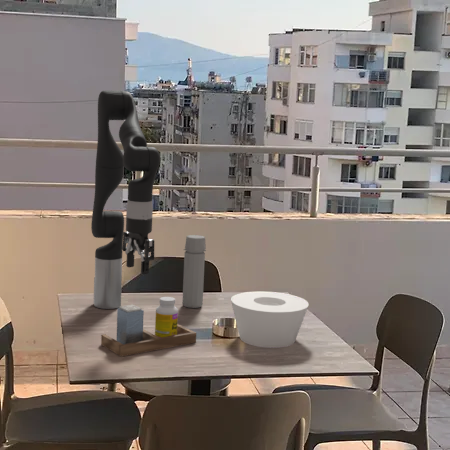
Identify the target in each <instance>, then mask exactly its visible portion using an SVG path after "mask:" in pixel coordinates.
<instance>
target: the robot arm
mask: <svg viewBox="0 0 450 450" xmlns="http://www.w3.org/2000/svg"><path fill="white" fill-rule="evenodd" d="M134 98H135V97H134V96H133V94H132V93H131V92H130V91H126V90H102V91H101V92H99V95H98V98H97V145H96V156H95V157H96V158H95V174H94V177H95V178H94V179H95V181H94V198H93V208H92V215H91V225H90V226H91V228H90V229H91V234H92V236H93V238H97V239H98V238H99V239H111V241H110V242H109V243H107V244H104V245H101V246H98V247H97V248H95V252H94V257H95V258H94V278H93V305H94V308H97V309H104V310H113V309H117V308H120V306H122V284H123V283H122V282H123V281H122V278H123V277H122V276H123V252H124V253H125V255H126V265H125V266H126V268H133V267H134V266H135V252H137V254H138V255H139V256H140V259H141V262H140V273H141V274H142V275H145V274H146V275H148V274H149V273H150V262H151V261H154V260H155V239H150V238H149V234H151V233H152V231H153V213H154V212H153V211H154V209H153V207H154V206H153V191H154V190H153V189H154V182H155V179H156V175H157V172H158V171H159V166H160V162H161V154H160V152H159V151H158V149H157V148H156V147H155V146H154V147H153V146H148V143H147V142H148V141H147V140H146V137H145V135H144V133H143V131H142V128H141V125H140V121H139V115H138V110H137V107H136V101H135V99H134ZM110 121H123V123H122V124H121V126H120V127H119V131H118V139H119V141H120V143H121V145H122V148H123V152H122V150H121V148H120V147H119V145H118V144H117V141H116V140H115V139H114V137H113V134H112V133H111V128H110ZM125 169H126V170H127V171H129V172H144V174H143V175H142V176H141V177H139V178H135V179H131V180H130V181H128V183H127V184H128V185H127V186H128V187H127V203H126V215H125V216H124V213H123V212H122V211H118V210H104V209H105V206H106V204H107V202H108V200H109V198H110V196H112V194H113V193H114V192H115V190H117V188H118V187H119V186H120V184H121V183H122V180H123V179H124V173H125ZM125 217H126V218H125Z"/></svg>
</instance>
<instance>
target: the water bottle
mask: <svg viewBox="0 0 450 450" xmlns="http://www.w3.org/2000/svg"><path fill="white" fill-rule="evenodd" d="M206 249H207V248H206V236H203V235H197V234H189V235H186V237H185V245H184V249H183V251H184V254H183V255H184V258H183V281H182V282H183V283H182V306H184V308H185V307H186V308H188V309H198V308H202V306H203V304H204V303H203V301H204V299H203V298H204V284H205V283H204V281H205V280H204V279H205V277H204V276H205V259H206V258H205V256H206V251H207V250H206Z"/></svg>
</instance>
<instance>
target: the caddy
mask: <svg viewBox="0 0 450 450" xmlns="http://www.w3.org/2000/svg"><path fill="white" fill-rule="evenodd" d="M100 339H101V340H100V344H101V346H103V347H105V348H106V349H108V350H110V352H113V353H115V354H116V355H117V356H119V357H126V356H131V355H132V356H133V355H136V354H141V353H142V354H143V353H147V352H153V351H157V350H163V349H168V348H173V347H179V346H185V345H190V344H195V343H197V332H196V331H194V330H192V329H189V328H188V327H185V326H184V325H181V324H179V323H177V335H173V336H167V337H162V338H159V337H157V336H155V334H153V333H151V332H149V331H148V330H146V329H144V328H143V341H139V342H134V343H128V344H121V343H120V342H118V341H117V339H115V338H114V337H113V338H112V337H111V336H109V335H108V334H106V333H105V334H101V335H100Z"/></svg>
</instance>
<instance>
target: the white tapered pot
mask: <svg viewBox="0 0 450 450" xmlns="http://www.w3.org/2000/svg"><path fill="white" fill-rule="evenodd" d="M230 298H231V299H230V302H231V307H232V311H233V315H234V320H235V322H236V323H235V324H236V328H237V331H238V336H239V339H240V340H241V341H242V342H244V343H245V344H247V345H250V346H254V347H258V348H265V349H266V348H269V349H272V348H273V349H275V348H277V349H278V348H286V347H290V346H292V345H294V344H295V342H296V340H297V337H298V335H299V332H300V329H301V327H302V324H303V321H304V318H305V316H306V313H307V310H308V309H309V308H308V307H309V304H310V303H309V302H308V300H307V299H305V298H303V297H300V296H296V295H294V294H290V293H289V294H288V293H283V292H275V291H244V292H240V293H237V294H234V295H232V296H231V297H230Z"/></svg>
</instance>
